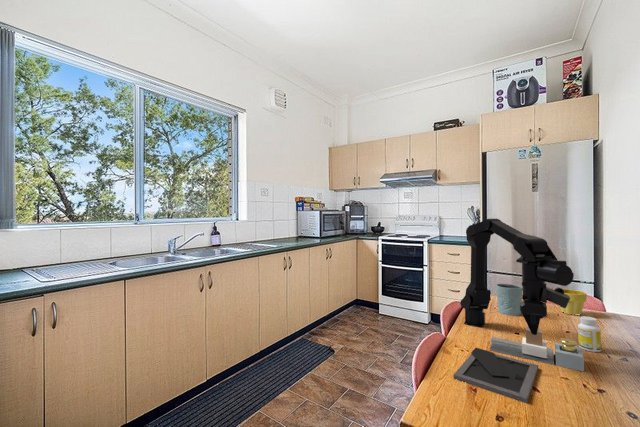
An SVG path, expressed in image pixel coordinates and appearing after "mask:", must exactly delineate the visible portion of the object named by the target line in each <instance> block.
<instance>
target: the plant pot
mask: <svg viewBox="0 0 640 427" xmlns="http://www.w3.org/2000/svg"><path fill="white" fill-rule="evenodd" d="M562 289H563V290H564V294H567V295H568V296H569V297H570V300H569V302H568V305H567V307H566V308H563V307H560V306H559V308H560V311H562V312H564V313H568V314H581V315H582V313H583V308H584V305H585V303H586V302H587V292H584V291H581V290H576V289H570V288H562ZM562 312H561V313H562ZM564 313H563V314H564Z"/></svg>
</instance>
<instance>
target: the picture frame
mask: <svg viewBox="0 0 640 427" xmlns="http://www.w3.org/2000/svg"><path fill="white" fill-rule="evenodd" d="M538 370H539V364H535V363H531V362H527V361H524V360H520V359H516V358H513V357H509V356H506V355H505V356H504V355H500V354H498V353H497V354H496V353H494V351H491V350H486V349H482V348H479V347H475V348H474V349H473V350H472V351H471V353H470V354H469V356H468V357H467V358H466V359H465V361H464V362H463V363H462V364H461V365H460V367H458V369H456V371H455V372H454V373H453V377H452V378H454V380H456V379H457V380H456V381H459V382H462V381H463V383H465V382H466V383H465V384H467V385H471V386H474V387H476V386H477V387H476V388H480V389H483V390H484V391H485V390H486V391H489V392H491V393H495V394H496V395H497V394H498V395H500V396H504V397H506V398H509V399H513V400H515V401H518V402H521V403H525V404H528V402H529V398H530V395H531V391H532V390H533V386H534V384H535V380H536V378H537V374H538Z"/></svg>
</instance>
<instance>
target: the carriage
mask: <svg viewBox="0 0 640 427" xmlns="http://www.w3.org/2000/svg"><path fill="white" fill-rule="evenodd" d="M521 340H522V341H521V343H522V353H524V354H528V355H533V356H538V357H542V358H547V348H548V346H547V341H546V340H545V341H544V340H543V328H539V327H538V331H537V335H533V334H532V333H531V331H530V329H529V327H528V325H527V326H526V327H525V336H522V339H521Z"/></svg>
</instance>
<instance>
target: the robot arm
mask: <svg viewBox="0 0 640 427" xmlns="http://www.w3.org/2000/svg"><path fill="white" fill-rule="evenodd" d="M465 234H466V242H468V244H469V246H470V281H469V282H470V283H469V284H468V286H467V287H466V288H465V295H464V296H463V297H462V299H460V302H459V303H460V307H461V308H463V309H464V322H463V324H464V325H468V326H473V327H478V328H483V327H484V326H485V324H486V312H484V311H485V310H488V308H489V305H490V302H491V301H492V299H491V295H492V294H491V293H492V292H491V290H490V289H488V287H487V286H486V283H485V282H486V249H487V246H488V244H489V243H490V242H491V236H493V235H494V234H495V235H497V236H499V237H500V238H501V239H503V240H504V241H506V242H507V243H509V244H511V245H512V247H513V250H514V251H515V252H517V253H518V254H519V256H520V257H519V258H517V259H515V260H516V261H515V262H516V263H519V264H521V278H522V279H521V280H522V281H521V287H522V302H521V303H520V311H521V315H522V317H523V319H524V320H525V323H526V325H527V326H528V327H529V329H530V331H531V333H532V334H533V335H537V331H538V328H539V326H540V322H541V320H542V319H543V318H546V317H547V315H548V309H547V308H548V307H547V306H548V305H547V302H549V303H552V304H555V305H557V306H559V308H560V307H563V308H566V307H567V305H568V302H569V300H570V297H569V296H568V295H567V294H564V290H563V289H564V288H561V287H559V286H562V287H566V286H569V285H571V283H572V282H573V280H574V272H573V270H572V268H571V267H570V266H568V265H567V261H566V260H559V259H558V258H557V257H556V255H555V253H554V252H553V251H552V249H551V248H550V246H549V245H548V241H547V240H546V239H544V238H542V237H539V236H536V235H531V234H525V233H523V232H522V231H520V230H517V229H516V228H515V227H512V226H511V225H509V224H506V223H505V222H503V221H502V220H501V219H499V218H486V219H484V220H482V221H479V222H477V223H474V224H470V225H468V227H467V228H466V230H465ZM547 283H549V284H554V285H559V286H557V287H556V288H554V289H553V288H549V287H547Z"/></svg>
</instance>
